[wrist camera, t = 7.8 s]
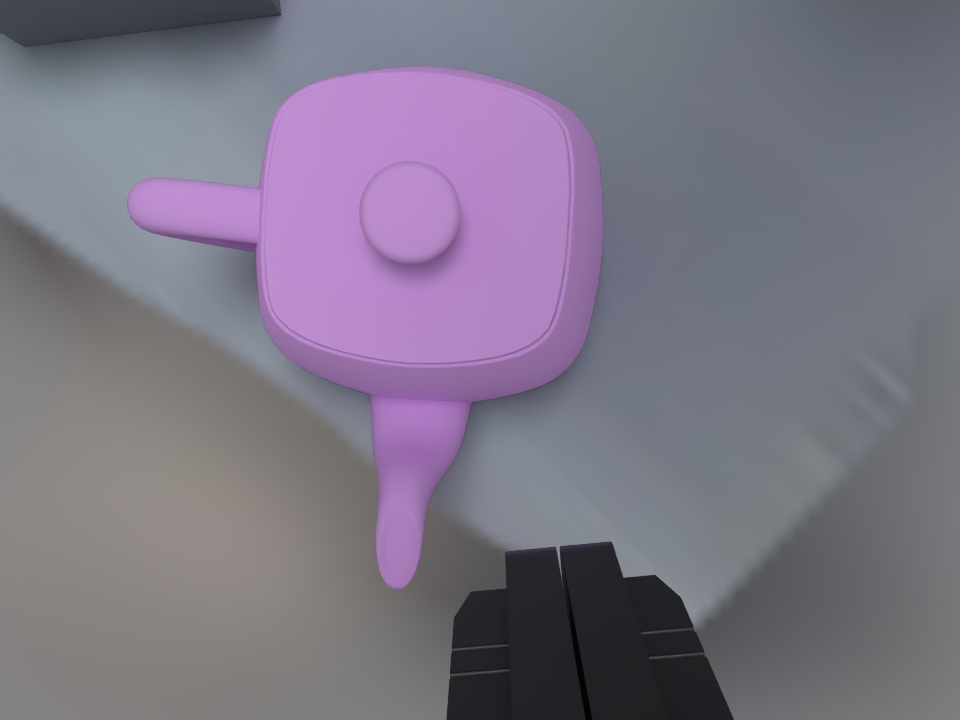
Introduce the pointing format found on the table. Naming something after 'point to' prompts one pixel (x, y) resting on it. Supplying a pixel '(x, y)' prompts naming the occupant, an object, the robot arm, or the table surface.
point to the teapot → (412, 256)
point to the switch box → (117, 16)
